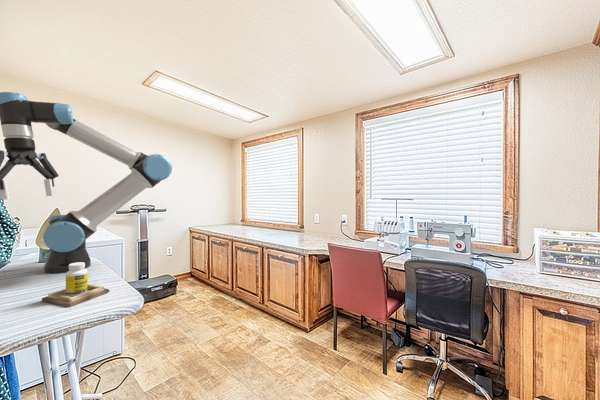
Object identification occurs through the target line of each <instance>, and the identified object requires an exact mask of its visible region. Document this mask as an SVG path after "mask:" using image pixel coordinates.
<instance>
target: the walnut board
mask: <svg viewBox="0 0 600 400" xmlns="http://www.w3.org/2000/svg"><path fill="white" fill-rule="evenodd" d="M108 292H109V293H110V289H108V288H105V286H101V285H94V284H89V283H87V292H85V293H82V294H80V295H77V296H66V288H64V289H61V290H57V291H53V292H51V293H48V294H47V296H45V297H41V302H44V303H49V304H52V305H53V304H54V305H57V306H64V307H68V308H71V307H74V306H77V305H80V304H82V303H85V302H87V301H89V300H92V299H95V298H98V297H101V296H103V295H106V294H108Z"/></svg>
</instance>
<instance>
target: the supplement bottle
mask: <svg viewBox="0 0 600 400" xmlns="http://www.w3.org/2000/svg"><path fill="white" fill-rule="evenodd" d="M69 270H70V271H68V272H65V289H66V296H77V295H80V294H82V293H85V292H87V284H88V279H89V278H88V276H89V275H88V274H89V273H88V270H87V268H85V263H84V262H77V263H72V264H69Z"/></svg>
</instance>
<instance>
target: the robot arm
mask: <svg viewBox="0 0 600 400" xmlns="http://www.w3.org/2000/svg"><path fill="white" fill-rule="evenodd" d="M73 116H74V115H73V111H72V107H71V105H70V104H67V103H61V102H46V101H32V100H28V98H27V96H26V95H24V94H22V93H17V92H12V91H2V92H1V91H0V127H1V131H2V137H4V139H3V144H4V149H5V150H6V151H4V150H1V149H0V200H2V201H3V200H10V199H11V197H10V193H9V187H8V181H7V179H4V178H6V176H7V175H8V174H9V173H10V171H12V170H13V168H14V167H16V166H18V165H19V166H21V165H24V166H29V167H32V168H33V169H35V170H36V171H37V172H38V173H39V174H40V175H41V176H42V177H44V179H43V184H44V188H45V189H44V190H45V197H51V196H52V197H53V196H55V191H54V187H55V181H54V179H56V178H58V177H59V174H58V172H57V171H56V169H55V168H54V166H53V165H52V164H51V162H50V161H49V160H48V157H47V154H46V153H45V152H42V153H37V152H36V144H35V143H36V142H35V140H34V131H33V126H32V123H35V124H36V123H37V124H38V123H41V124H45V125H46V126H47V127H48V128H50V129H52V130H55V131H58V132H60V133H62V134H64V135H66V136H68V137H70V138H72V139H74V140H75V141H78V142H80V143H82V144H84V145H87V147H90V148H92V149H94V150H96V151H98V152H99V153H102V154H104V155H106V156H108V157H109V158H112V159H114V160H116V161H118V162H120V163H122V164H123V165H125V166H127V167H128V169H129V170H131V172H130V173H129V174H128V175H126V176H125V177H124V178H122V179H121V180H120V181H118V182H117V183H115V184H114V185H113V186H111V187H109V188H108V189H107V190H106V191H104V192H103V193H101V194H100V195H99V196H97V197H95V199H93V200H91V202H89V203H87V204H86V205H85V206H84V207H82V208H81V209H79V210H71V211H69V212H67V213H66V214H61V215H60V214H57V215H51V216H50V218H49V221H48V223H49V225H48V226H47V227H46V229H45V230H44V232H43V235H42V236H43V238H42V239H43V242H44V245H45V246H46V247H47V248H49V254H48V255H47V258H46V261H45V264H44V265H43V267H44V268H43V271H44V272H45V273H49V274H53V273H54V274H58V273H60V274H61V273H67V272H68V271H70V270H69V264H72V263H77V262H84V263H85V268H84V269H87V268H89V267H90V266H91V263H92V261H91V258H90V254H89V253H88V250H87V248H86V246H87V245H86V244H87V243H86V241H87V239H88V238H90V236H92V235H93V234H95V233H96V232H97V227H98V226H99V225H100V224H101V223H103V222H104V221H105V220H106V219H108V218H109V217H111V216H112V215H113V214H115V213H116V212H117V211H118V210H120V209H121V208H122V207H124V206H125V205H127V203H129V202H130V201H131V200H132V199H135V197H137V196H138V195H139V194H141V193H142V192H143V191H145V190H146V189H153V188H154V187H155V186H157V185H158V184H159V183H160V182H162V181H165V180H167V179H168V178H169V177H170V175H171V174H172V172H173V171H172V170H173V166H172V163H171V161H170V159H169V158H168V157H166V156H164V155H162V154H158V153H153V154H149V155H148V154H145V153H143V152H141V151H138V152H137V151H135V150H133V149H131V148H129V147H128V146H125V145H124V144H123V143H120V142H118V141H116V140H115V139H112V138H111V137H109V136H107V135H105V134H103V133H101V132H100V131H98V130H95V129H94V128H93V127H90V126H88V125H86V124H85V123H83V122H81V121H79V120H77V119H75V118H74V117H73ZM6 157H7V158H8V160H7V161H6V162H5V164H4V165H3V166H2V164H3V162H4V160H5V158H6ZM37 159H38V160H37ZM1 166H2V168H1Z"/></svg>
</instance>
